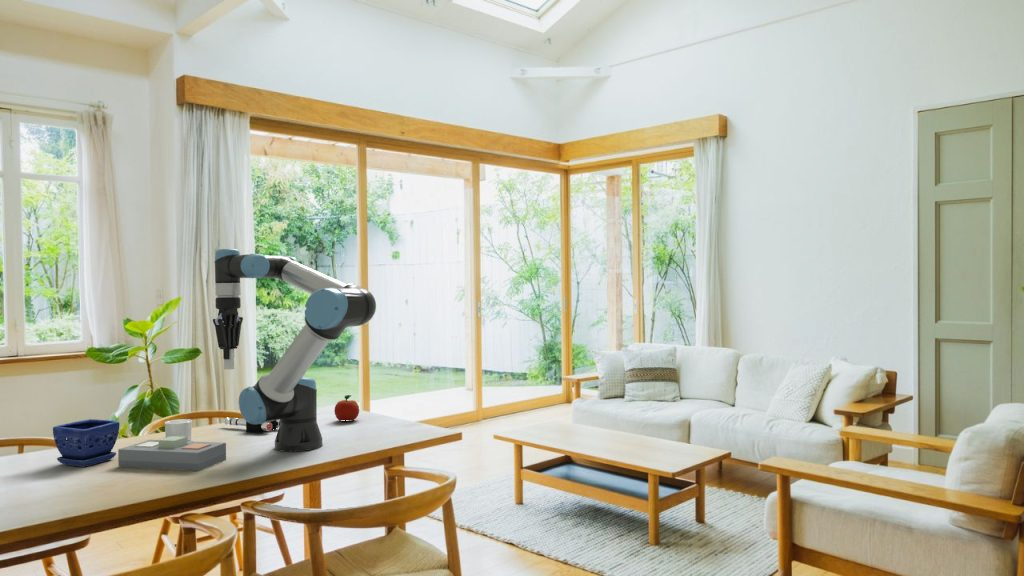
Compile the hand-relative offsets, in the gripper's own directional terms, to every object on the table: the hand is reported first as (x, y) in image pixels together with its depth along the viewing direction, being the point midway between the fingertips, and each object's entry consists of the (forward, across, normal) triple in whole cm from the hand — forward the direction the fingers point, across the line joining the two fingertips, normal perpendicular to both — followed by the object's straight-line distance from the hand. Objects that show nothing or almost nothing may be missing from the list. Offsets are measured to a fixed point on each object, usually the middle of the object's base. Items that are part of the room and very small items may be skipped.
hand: (229, 369), depth 224 cm
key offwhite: (+24, +18, -15) cm, 34 cm away
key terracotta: (+24, +18, +1) cm, 30 cm away
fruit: (+27, -51, +16) cm, 60 cm away
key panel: (+26, +18, -7) cm, 33 cm away
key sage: (+22, +18, -7) cm, 30 cm away
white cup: (+27, +5, -15) cm, 31 cm away
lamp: (+27, -30, -13) cm, 43 cm away
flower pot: (+27, +21, -34) cm, 49 cm away
